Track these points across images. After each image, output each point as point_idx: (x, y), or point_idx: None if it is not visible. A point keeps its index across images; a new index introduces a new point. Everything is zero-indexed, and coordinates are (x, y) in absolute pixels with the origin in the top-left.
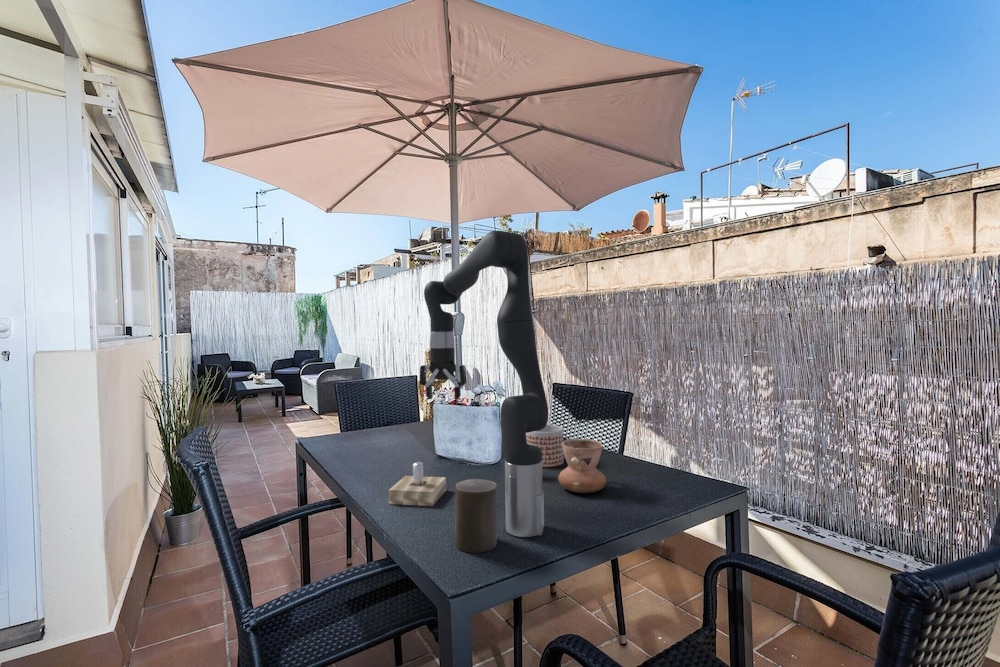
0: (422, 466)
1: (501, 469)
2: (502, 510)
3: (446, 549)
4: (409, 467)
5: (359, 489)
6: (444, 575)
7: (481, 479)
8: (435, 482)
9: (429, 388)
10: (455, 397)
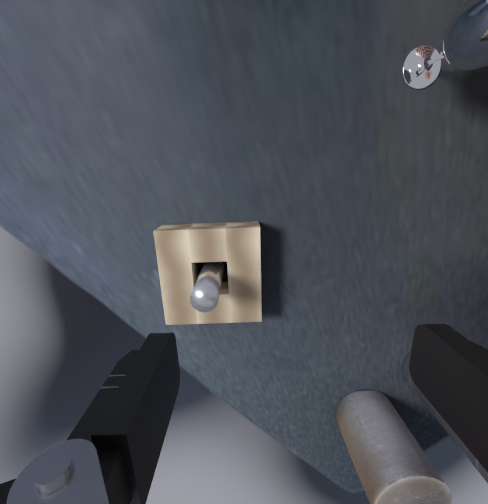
0: (218, 297)
1: (372, 10)
2: (392, 303)
3: (326, 429)
4: (78, 41)
5: (63, 248)
6: (338, 473)
7: (420, 479)
8: (247, 266)
9: (142, 495)
10: (427, 389)
